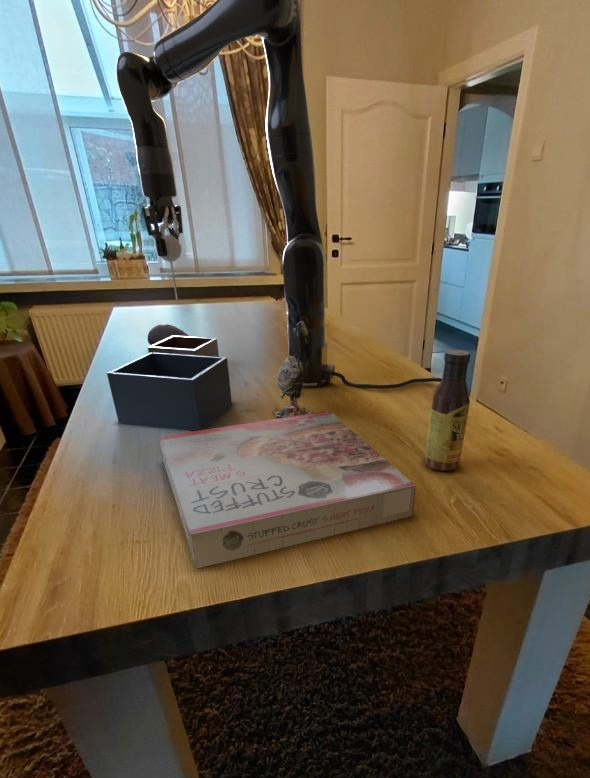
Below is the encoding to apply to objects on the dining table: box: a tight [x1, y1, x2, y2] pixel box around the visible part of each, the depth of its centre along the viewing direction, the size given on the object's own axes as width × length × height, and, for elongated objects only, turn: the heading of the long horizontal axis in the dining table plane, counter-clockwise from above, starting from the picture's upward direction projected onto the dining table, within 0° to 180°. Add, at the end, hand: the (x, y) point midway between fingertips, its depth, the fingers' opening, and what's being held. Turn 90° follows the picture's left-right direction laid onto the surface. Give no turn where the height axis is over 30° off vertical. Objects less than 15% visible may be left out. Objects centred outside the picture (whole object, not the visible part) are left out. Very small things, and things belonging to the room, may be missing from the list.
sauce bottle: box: [424, 349, 471, 472], centre depth 83 cm, size 6×6×20 cm
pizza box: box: [158, 410, 417, 569], centre depth 79 cm, size 32×5×32 cm
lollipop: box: [155, 234, 183, 302], centre depth 123 cm, size 6×6×15 cm
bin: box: [106, 352, 233, 432], centre depth 106 cm, size 19×17×11 cm
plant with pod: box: [273, 321, 312, 418], centre depth 103 cm, size 8×11×20 cm
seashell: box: [147, 323, 191, 346], centre depth 157 cm, size 14×19×8 cm
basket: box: [147, 336, 220, 357], centre depth 136 cm, size 14×14×7 cm
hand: (169, 254), depth 121 cm, fingers closed on lollipop, 6 cm apart
